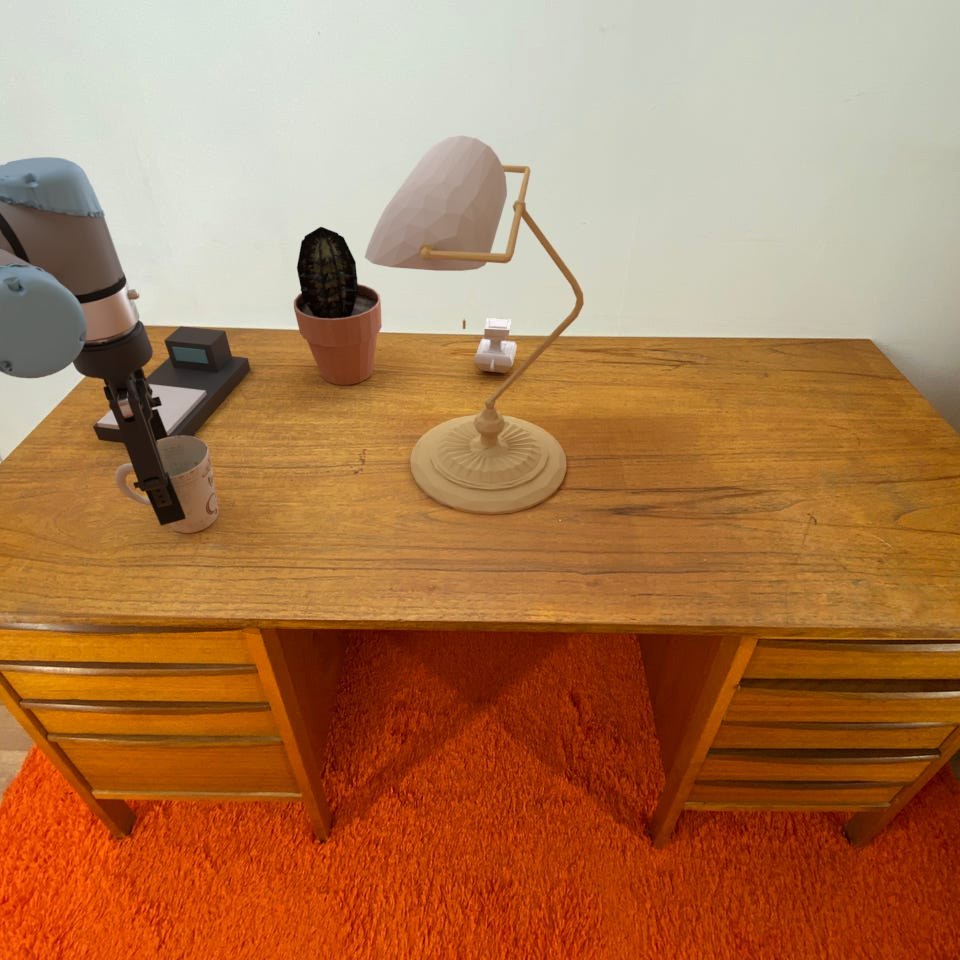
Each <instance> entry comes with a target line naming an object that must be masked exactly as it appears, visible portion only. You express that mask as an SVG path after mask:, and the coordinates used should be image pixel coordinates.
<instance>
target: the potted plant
mask: <svg viewBox="0 0 960 960" xmlns="http://www.w3.org/2000/svg"><path fill="white" fill-rule="evenodd" d="M296 271H297V276H298V281H299V286H300V292H301V293H299V294H298V295H297V296H295V298H294V300H293V309H294V314H295V319H296V322H297V327H298V331H299V334H300V335H301V337H303V339H304V340H305V341H307V345H308V347H309V349H310V351H311V354H312V357H313V359H314V361H315V364H316V366H317V369H318V371H319V374H320V376H321V377H322V379H323V380H324V381H326V382H328V383H330V384H334V385H336V386H337V385H338V386H349V385H355V384H359V383H361V382H363V381H366V380H367V379H369V377H370V376H372V374H373V372H374V365H375V357H376V350H377V349H376V348H377V340H378V334H379V333H380V331H381V329H382V327H383V325H382V304H381V303H382V301H381V296H380V293H379V292H377V290H375V289H374V288H372V287H370V286H368V285H364V284H360V283H359V282H358V274H357V264H356V260H355V258H354V256H353V253H352V251H351V249H350V247H349V245H348V243H347V242H346V239H345V237H344V236H342V235H340V234H339V232H336V231H333V230H331V229H328V228H326V227H323V226H319V227H318V228H316V229H314V230H313V231H311V232H309V233H307V234H306V235H304V238H303V239H301V242H300V247H299V253H298V259H297V265H296Z"/></svg>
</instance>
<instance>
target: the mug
mask: <svg viewBox="0 0 960 960" xmlns="http://www.w3.org/2000/svg"><path fill="white" fill-rule="evenodd" d="M156 444H157V447H158V450H159V454H160V457H161V460H162V463H163V466H164V470H165V472H166V473H167V472H168V474H169V477H170V479H171V482H172V484H173V486H174V489H175V491H176V494H177V496H178V499H179V501H180V504H181V506H182V509H183V511H184V513H185V517H186V519H183V520H180V521H176V522H173V523H169V524H168V525H169V527H170V528H171V529H172V530H173V531H175V532H177V533H180V534H192V533H193V534H194V533H197V532H200V531H203V530H205V529H207V528H208V527H210V526H212V524H214V523H215V522H216V520H217V518H218V517H219V503H218V497H217V491H216V486H215V484H216V483H215V478H214V471H213V465H212V459H211V455H210V454H211V453H210V450H209V446H208V444H207V443H206V442H205V441H204V440H203V439H201V438H199V437H196V436H194V435H193V436H184V435H182V436H171V437H167V438H163V439H160V440H157V441H156ZM131 473H135V471H134V469H133V466H132V463H131V462H127V463H122V464H121V465H119V467H118V468H117V469H116V471H115V475H114V481H115V484H116V486H117V488H118V490H119V491H120V492H121V493H122V494H123V495H124V496H126V497H127V498H129V499H130V500H132V501H135V502H137V503H139V504H142V505H146V506H152V505H151V502H150V500H149V498H148V497H146V496H143V495H140V494H139V493H137V492H135V490H133V489H132V488H131V487H130V486H129V485H128V483H127V477H128V476H129V474H131Z"/></svg>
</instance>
